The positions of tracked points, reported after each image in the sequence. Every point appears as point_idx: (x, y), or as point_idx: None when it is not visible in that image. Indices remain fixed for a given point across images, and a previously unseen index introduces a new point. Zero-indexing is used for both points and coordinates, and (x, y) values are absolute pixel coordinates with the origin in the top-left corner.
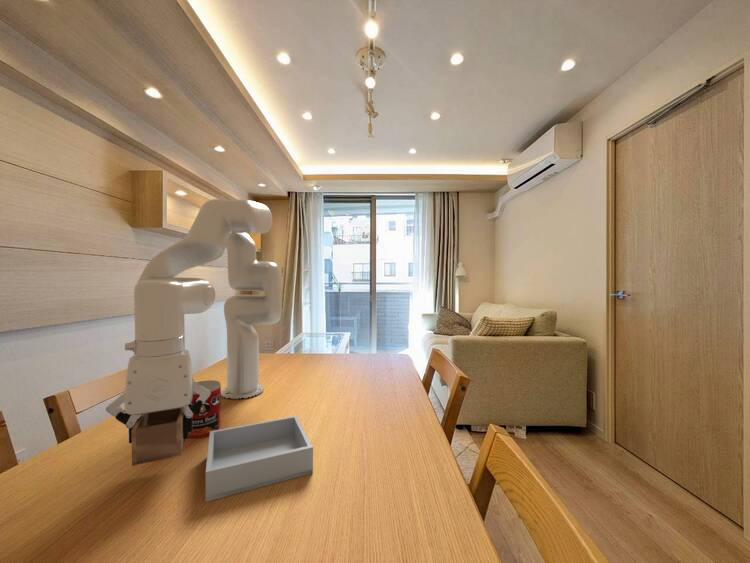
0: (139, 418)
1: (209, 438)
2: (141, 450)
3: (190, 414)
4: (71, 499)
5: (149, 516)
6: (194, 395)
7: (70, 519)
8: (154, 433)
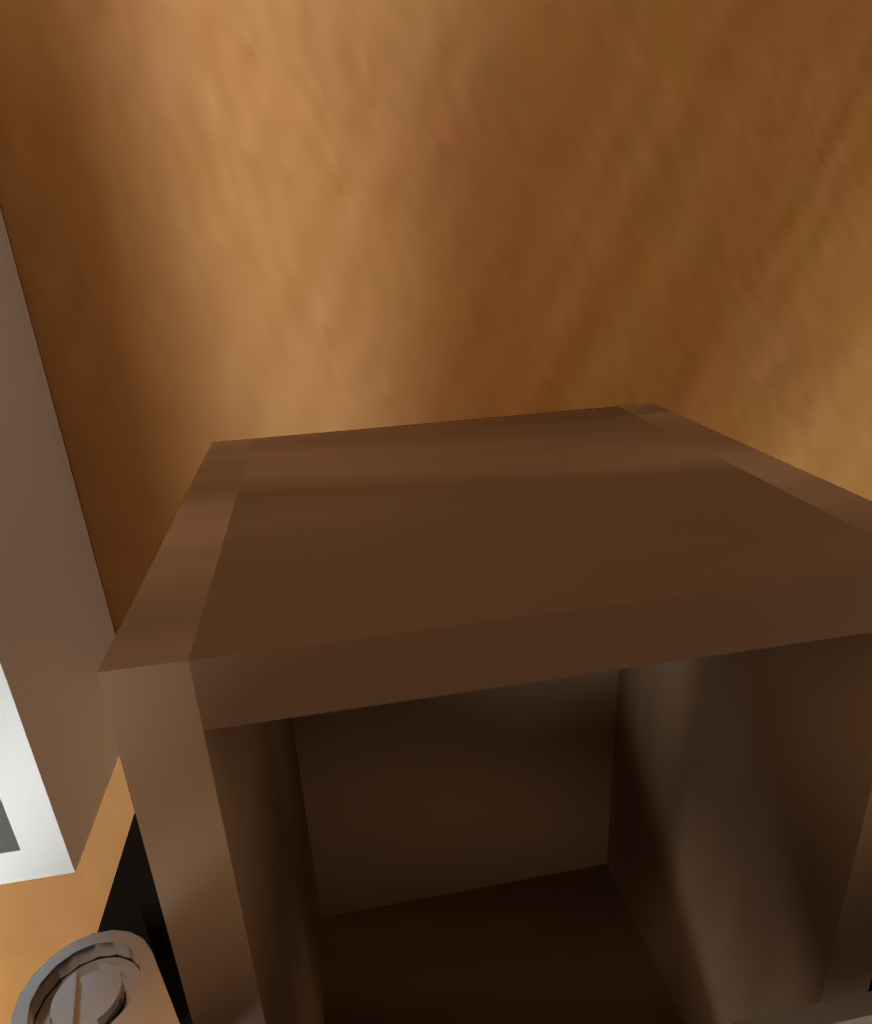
0: (869, 944)
1: (26, 746)
2: (640, 445)
3: (65, 1000)
4: (857, 467)
5: (382, 48)
6: None
7: (837, 258)
8: (572, 537)
